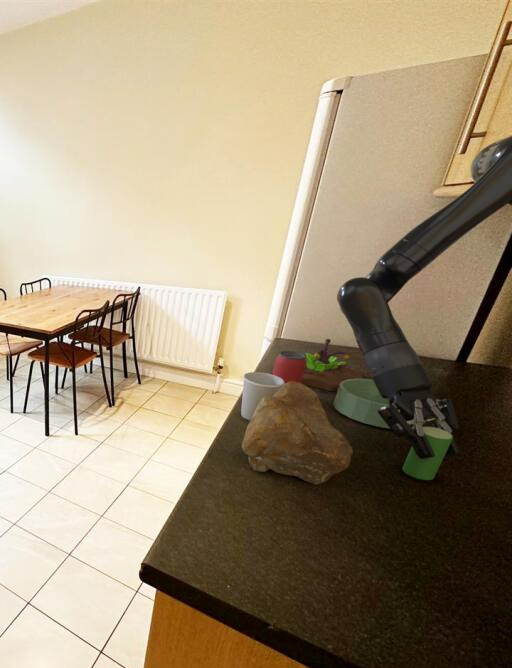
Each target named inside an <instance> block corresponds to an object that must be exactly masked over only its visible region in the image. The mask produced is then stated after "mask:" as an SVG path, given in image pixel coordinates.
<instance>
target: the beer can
mask: <svg viewBox="0 0 512 668" xmlns="http://www.w3.org/2000/svg"><path fill="white" fill-rule="evenodd" d="M305 358H307V355H306V354H304V353H302V352H298V351H292V350H282V351H280V352H279V354H278V356H277V357H276V358H275V360H274V365H273V368H272V373H271V374H272V375H275V376H278V377H280V378H281V379H283V380H284V382H285V384H286V383H287V382H290V381H294V382H298V383H301V381H302V378H303V374H304V371H305V367H306V359H305ZM285 384H284V385H285ZM284 385H283V386H284ZM283 386H282V387H283Z"/></svg>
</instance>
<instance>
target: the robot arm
mask: <svg viewBox="0 0 512 668" xmlns="http://www.w3.org/2000/svg"><path fill="white" fill-rule="evenodd" d="M470 177H471V180H472V181H473V183H474V184H472V185H471V186H469V188H468V189H466V190H465V191H464V192H463V193H461V194H460V195H458V197H456V198H455V199H454V200H452V201H450V202H449V203H448V204H447V205H445V206H444V207H441V209H438V211H436V212H435V213H433V214H432V215H430V216H429V217H427V218H425V219H424V220H423V221H421V222H420V223H418V224H416V225H415V226H414V227H413V228H412V229H410V230H409V231H408V232H407V233H405V234H404V235H403V236H401V238H399V239H398V240H397V241H395V243H393V245H391V246H390V247H389V248H388V249H387V250H386V251H385V252H383V254H382V255H380V256H379V257H378V259H377V260H376V261H375V263H374V265H373V268H372V270H371V271H369V273H367V274H366V276H362V277H361V276H360V277H359V276H358V277H353V278H350V279H348V280H346V281H345V282H343V284H341V286H340V287H339V288H338V290H337V293H336V302H337V305H338V308H339V309H340V312H341V313H342V314H343V315H344V317H345V318H346V321H347V322H348V324H349V325H350V327H351V329H352V332H353V336H354V338H355V343H357V346H358V348H359V351H360V352H361V354H362V356H363V359H364V362H365V366H366V368H367V370H368V372H369V375H370V377H371V378H372V379H371V380H373V381H374V383H375V385H376V387H377V389H378V391H379V393H380V395H381V397H382V398H385V399H388V405H387V406H384V407H381V408H378V409H377V412H378V413H379V415H380V416H381V417H382V418H383V420H384V421H385V422H386V424H387V425H388V426H389V428H390V430H391V431H392V433H393V434H394V436H396V437H397V438H401V437H402V438H405V439H406V440H409V442H410V445H411V447H412V446H413V448H414V450H415V453H416V454H417V455H418V456H419V458H420V459H426V458H431V457H434V456H435V454H434V452H433V450H432V448H431V446H430V444H429V442H428V440H427V438H426V436H425V437H422V436H424V432H423V427H434V428H438V429H442V430H444V431H447V432H449V433H450V434H451V433H452V432H453V431H454V430H458V429H459V422H458V418H457V415H456V412H455V408H454V405H453V401H452V399H450V398H445V399H438V398H436V397H435V396H434V395H433V394H432V392H431V391H430V389H431V388H432V387H433V386H434V384H433V382H432V380H431V378H430V375H429V374H428V372H427V370H426V369H425V366H424V365H423V363H422V361H421V359H420V357H419V356H418V353H417V351H416V350H415V349H414V348H413V346H412V345H411V344H410V342H409V341H408V338H407V337H406V335H405V333H404V332H403V329H402V328H401V326H400V324H399V323H398V322H397V320H396V319H395V317H394V315H393V312H392V310H391V308H390V305H389V302H390V301H391V300H392V299H393V298H394V297H395V296H397V294H398V293H399V292H400V291H401V290H402V288H404V286H405V285H406V284H408V283H409V281H411V279H413V278H414V277H415V276H417V275H418V274H420V273H421V272H422V271H423V270H424V269H426V268H427V267H428V266H429V265H430V264H431V263H432V262H434V261H435V260H436V259H437V258H438V257H440V256H441V255H443V253H444V252H446V251H447V250H448V249H449V248H450V247H451V246H453V245H454V244H455V243H457V242H458V241H459V240H460V239H461V238H463V237H464V236H466V235H467V234H468V233H470V232H471V231H472V230H473V229H475V228H476V227H477V226H478V225H480V224H482V223H483V222H484V221H485V220H487V219H488V218H489V217H490V216H492V215H494V214H495V213H497V212H498V211H499V210H501V209H503V207H505V206H507V205H510V206H511V207H512V134H511V135H508V136H506V137H504V138H501V139H499V140H496V141H494V142H492V143H491V144H489V145H487V146H484V147H483V148H482V149H481V150H480V151H478V153H477V154H476V155H475V156H474V157H473V159H472V161H471V163H470ZM446 420H447V422H448V423H447V422H446ZM396 424H399V425H400V427H402V428H403V429H401V430H400V429H399V427H398V426H397V425H396ZM435 424H436V425H435ZM413 426H414V429H412V427H413ZM389 428H388V429H389ZM459 453H460V451H459V447H458V445H457V444H456V442H455V440H454V438H453V439H452V441H451V444H450V446H449V448H448V450H447V452H446V454H445V456H444V457H450V456H455V455H459Z"/></svg>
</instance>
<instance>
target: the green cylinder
mask: <svg viewBox="0 0 512 668" xmlns="http://www.w3.org/2000/svg"><path fill="white" fill-rule="evenodd" d="M422 427H423V432H424V436H422V437H425V436H426V438H427V440H428V442H429V444H430V446H431V448H432V450H433V452H434V454H435V456H434V457H431V458H426V459H420V458H419V456H418V455H417V454H416V453H415V450H414V448H413V446H412V445H411V447H410V450H409V452H408V453H407V457H406V458H405V461H404V462H403V465H402V468H401V470H402V471H403V473H405V474H406V475H408V476H410V477H413V478H415V479H418V480H421V481H422V480H424V481H432V480H434V478H435V477H436V475H437V474H438V473H437V472H438V471H439V469H440V466H441V465H442V462H443V460H444V458H445V457H446V456H445V454H446V452H447V450H448V448H449V446H450V444H451V441H452V439H453V440H454V436H453V434H451V433H449V432H447V431H444V430H442V429H438V427H436V428H434V427H426V426H422Z"/></svg>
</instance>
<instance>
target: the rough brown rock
mask: <svg viewBox="0 0 512 668" xmlns="http://www.w3.org/2000/svg"><path fill="white" fill-rule="evenodd" d="M241 449H242V452H243V453H244V454H245V455H246V456H248V462H249V463H248V464H249V465H250V467H251V469H252V470H253V471H255V472H260V473H265V472H267V471H268V470H271V471H273V472H275V473H276V474H282V475H285V476H294V477H297V478H298V479H301V480H303V481H304V482H307V483H309V484H312V485H321V484H324V483H327V482H328V481H329V480H331V478H332V477H333V476H335V475H336V474H339V473H341V472H342V471H344V470H346V469H348V468H349V467H350V465H351V464H350V463H351V461H352V455H353V454H354V453H353V450H354V449H353V447H352V445H351V444H350V442H349V441H348V439H347V438H346V437H345V435H344V434H343V433H342V432H341V431H340V430H339V429H336V428H335V427H334V426H332V425H331V423H330V421H329V419H328V416H327V411H326V410H325V409H324V407H323V405H322V403H321V401H320V399H319V396H318V394H317V393H316V391H314V390H313V389H311V387H309V386H305V385H303V384H301V383H298V382H294V381H290V382H287V383H286V384H285V385H284V386H283V387H282V388H281V389H280V390H279V391H278V392H277V393H276V394H275V395H274V396H266V397H264V398H262V400H261V401H260V403H259V404H258V406H257V408H256V410H255V412H254V414H253V416H252V419H251V420H249V423H248V425H247V426H246V429H245V433H244V436H243V439H242V443H241Z"/></svg>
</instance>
